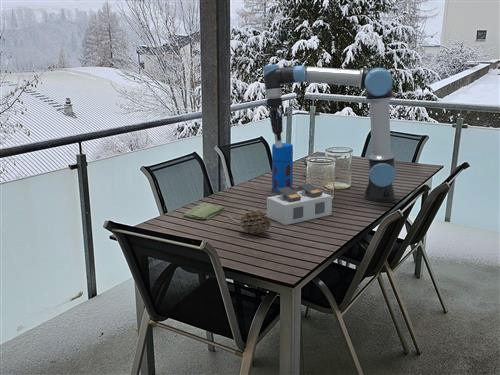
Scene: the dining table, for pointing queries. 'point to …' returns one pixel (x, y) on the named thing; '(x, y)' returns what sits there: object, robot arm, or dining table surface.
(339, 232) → the dining table surface
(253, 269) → the dining table surface
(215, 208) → the washcloth
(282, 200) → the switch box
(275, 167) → the thermos
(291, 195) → the outer rocker
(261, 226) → the pine cone
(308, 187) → the inner rocker
